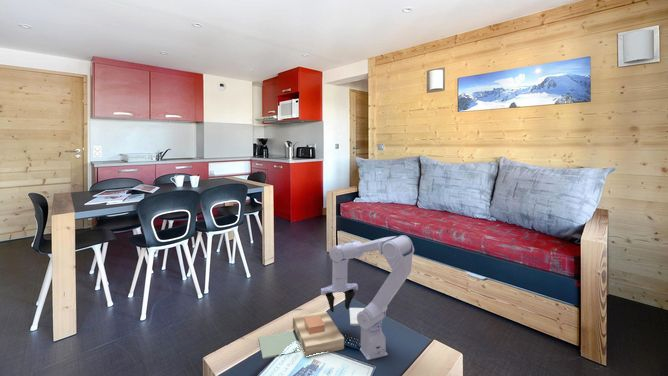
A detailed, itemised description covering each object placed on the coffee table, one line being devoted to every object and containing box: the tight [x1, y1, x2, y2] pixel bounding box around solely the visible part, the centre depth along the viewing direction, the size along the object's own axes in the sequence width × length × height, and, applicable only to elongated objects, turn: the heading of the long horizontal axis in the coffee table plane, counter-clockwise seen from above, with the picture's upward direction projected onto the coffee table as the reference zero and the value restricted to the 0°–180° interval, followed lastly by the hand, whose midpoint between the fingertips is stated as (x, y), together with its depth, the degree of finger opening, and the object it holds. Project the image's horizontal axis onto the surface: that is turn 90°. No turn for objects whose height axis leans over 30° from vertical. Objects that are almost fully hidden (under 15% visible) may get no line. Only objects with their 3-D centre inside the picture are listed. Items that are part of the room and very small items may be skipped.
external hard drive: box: [348, 307, 365, 327], centre depth 131 cm, size 2×8×12 cm
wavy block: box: [292, 310, 345, 357], centre depth 117 cm, size 20×14×4 cm
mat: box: [258, 330, 301, 360], centre depth 112 cm, size 12×13×1 cm
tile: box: [304, 315, 325, 334], centre depth 117 cm, size 7×6×2 cm
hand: (339, 309), depth 120 cm, fingers open, 6 cm apart
